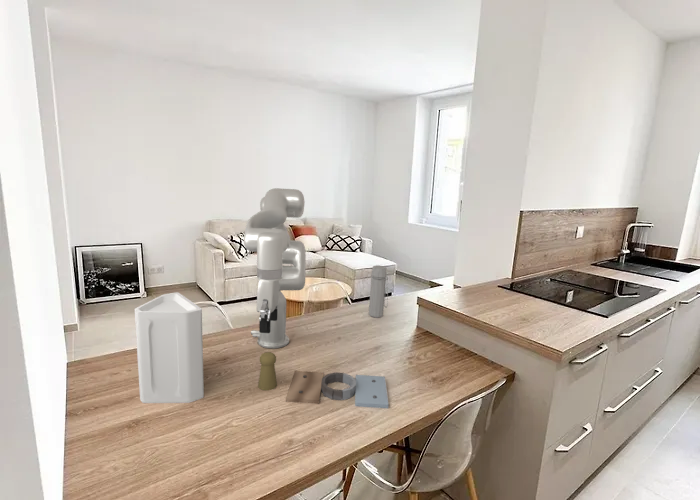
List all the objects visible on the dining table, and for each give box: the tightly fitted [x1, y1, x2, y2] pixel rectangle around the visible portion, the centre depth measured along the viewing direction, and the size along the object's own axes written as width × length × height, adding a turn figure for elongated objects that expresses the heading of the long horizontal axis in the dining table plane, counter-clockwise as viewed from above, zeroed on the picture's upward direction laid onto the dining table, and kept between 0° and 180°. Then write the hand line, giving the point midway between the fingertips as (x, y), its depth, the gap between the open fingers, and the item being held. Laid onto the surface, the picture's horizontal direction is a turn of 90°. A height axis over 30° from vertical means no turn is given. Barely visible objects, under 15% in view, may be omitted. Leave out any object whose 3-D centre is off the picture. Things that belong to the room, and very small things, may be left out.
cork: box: [257, 351, 278, 392], centre depth 120 cm, size 6×6×11 cm
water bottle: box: [368, 264, 389, 318], centre depth 184 cm, size 9×8×25 cm
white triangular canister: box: [134, 291, 205, 404], centre depth 112 cm, size 19×15×28 cm
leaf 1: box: [285, 370, 345, 405], centre depth 120 cm, size 17×16×3 cm
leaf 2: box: [341, 372, 389, 409], centre depth 120 cm, size 14×16×3 cm
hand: (268, 326), depth 117 cm, fingers open, 9 cm apart
